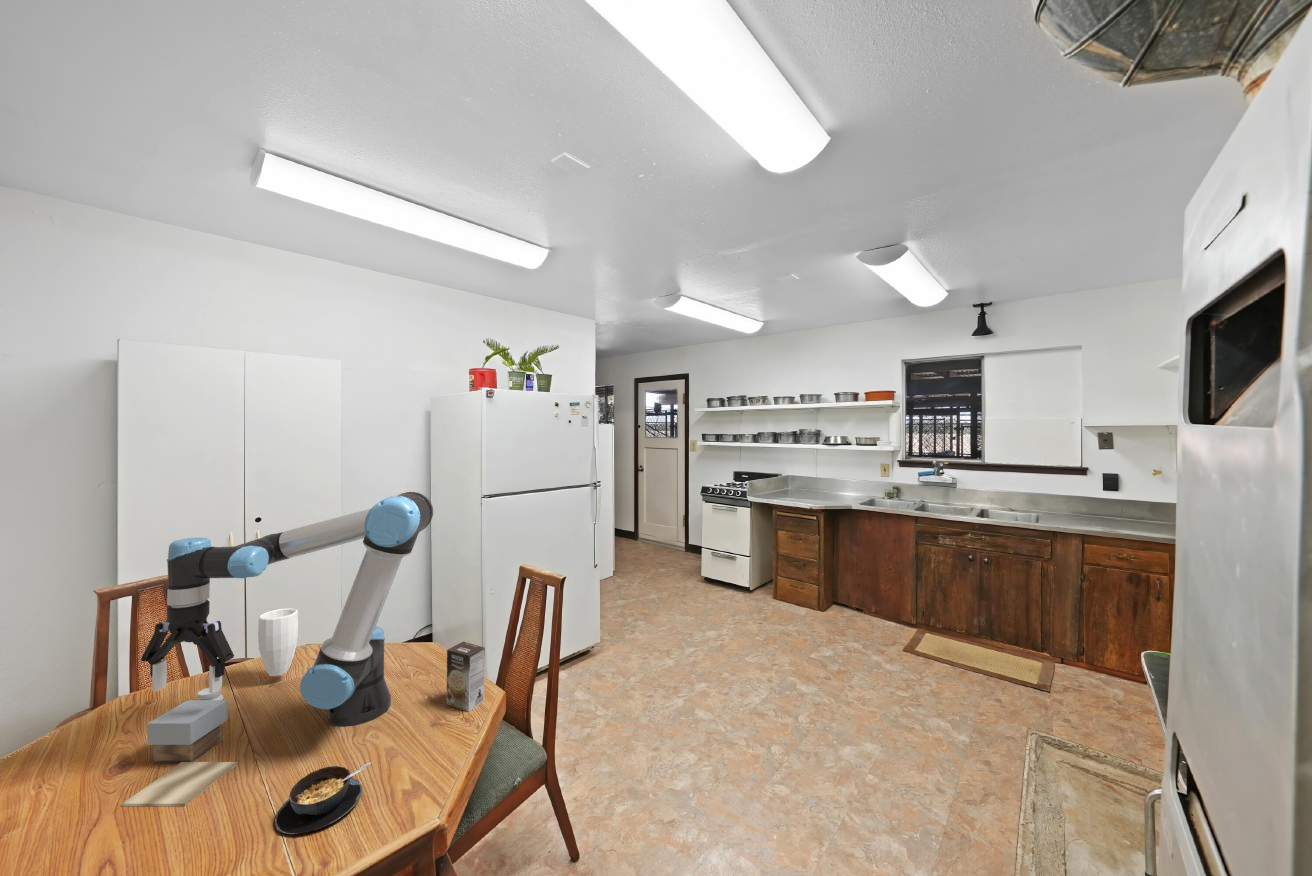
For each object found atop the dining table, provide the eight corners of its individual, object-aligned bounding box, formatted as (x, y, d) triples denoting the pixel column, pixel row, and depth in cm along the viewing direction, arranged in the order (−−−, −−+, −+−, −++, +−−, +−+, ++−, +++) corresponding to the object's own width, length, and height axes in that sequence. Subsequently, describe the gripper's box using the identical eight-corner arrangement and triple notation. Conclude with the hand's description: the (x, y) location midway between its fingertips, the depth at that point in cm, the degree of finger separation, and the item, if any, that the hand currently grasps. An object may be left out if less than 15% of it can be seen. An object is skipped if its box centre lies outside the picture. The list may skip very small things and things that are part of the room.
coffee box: (445, 704, 141) (445, 649, 141) (462, 694, 147) (462, 640, 147) (468, 712, 137) (469, 655, 137) (485, 701, 143) (485, 646, 143)
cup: (282, 690, 148) (282, 619, 148) (248, 690, 149) (248, 619, 148) (307, 674, 159) (307, 607, 159) (275, 673, 159) (275, 607, 159)
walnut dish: (222, 741, 124) (222, 721, 124) (190, 763, 115) (190, 742, 115) (187, 741, 124) (187, 721, 124) (153, 763, 115) (153, 742, 115)
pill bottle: (206, 735, 126) (206, 697, 126) (188, 732, 127) (188, 694, 127) (229, 722, 132) (229, 686, 132) (212, 720, 133) (212, 683, 133)
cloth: (237, 764, 115) (237, 761, 115) (184, 806, 102) (184, 803, 102) (181, 764, 115) (181, 761, 115) (122, 806, 102) (122, 803, 102)
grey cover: (227, 719, 125) (227, 700, 125) (190, 744, 115) (190, 723, 115) (187, 719, 125) (187, 700, 125) (147, 744, 115) (147, 723, 115)
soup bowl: (311, 782, 110) (312, 749, 110) (381, 785, 109) (381, 751, 109) (255, 837, 95) (255, 799, 95) (335, 840, 94) (335, 801, 94)
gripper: (252, 598, 123) (251, 682, 123) (152, 596, 123) (151, 681, 123) (227, 608, 116) (225, 698, 116) (120, 607, 116) (119, 696, 116)
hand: (187, 689), depth 120 cm, fingers open, 13 cm apart
